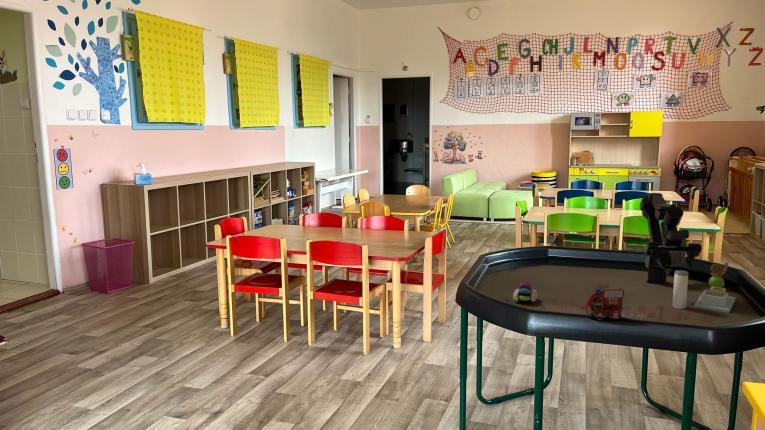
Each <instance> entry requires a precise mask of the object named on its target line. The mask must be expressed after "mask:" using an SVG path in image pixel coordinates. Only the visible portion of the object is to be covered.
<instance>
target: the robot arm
mask: <svg viewBox="0 0 765 430" xmlns="http://www.w3.org/2000/svg"><path fill="white" fill-rule="evenodd" d="M665 199H666V198H664V196H663V193H661V192H651V193H648V195H647V196H645V197H643V198H641V200H640V203H639V210H640V211H641V215H642V216H643V217H644V219H646V222H647V229H648V235H649V240H650V242H649V241H648V242H647V243H646V246H645V249H644V255H646V259H645V260H644V262H645V267H646V269H648V270H647V280H646V283H649V284H655V285H656V284H657V285H665V283H667V282H668V276H667V269H670V266H671V261H672V258H671V255H670V254H669V252H686V257H685V260H686V264H687V269H688V270H691V268H692V264H693V259H696V258H697V257H699V256H700V254H701V252H702V251H703V250H702V249H703V245H702V244H701V243H699V242H689V243H688V244H687V246H686V247H681V245H680V244H682V243H683V241H682V240H684V239H686V240H687V239H689V238H690V232H689V229H686V228H685V229H682V230H678V226H679V225H680V223H681V222H682V218H683V215H684V210H683V209H682V208H681V207H679V206H677V204H676V203H674V204H673V203H671V204H669V203H668V202H667V201H666V200H665ZM660 221H661V222H660ZM661 232H662V235H661ZM662 238H663V239H662ZM663 244H664V245H663ZM671 267H672V266H671Z"/></svg>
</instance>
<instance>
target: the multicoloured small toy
mask: <svg viewBox="0 0 765 430" xmlns="http://www.w3.org/2000/svg"><path fill="white" fill-rule="evenodd" d="M512 295H513V297H512V299H514V300H518V298H519V300H518V301H520V300H521V301H530V302H531V301H536V302H537V300H538V299H537V298H538V292H537V290H535V289H533V287H532V284H531V283H530V282H528V281H523V282H521V283H520V285H519V286H518V288H517V289H515V290H514V293H513V294H512ZM514 300H513V301H514Z"/></svg>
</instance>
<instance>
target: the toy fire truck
mask: <svg viewBox="0 0 765 430" xmlns="http://www.w3.org/2000/svg"><path fill="white" fill-rule="evenodd" d="M624 297H625V291H624V289H622V288H603V289H602V290H601V289H600V288H596V289H595V290H594V292H593V293H591V294H590V296H589V298H588V300H587V301H586V303H585V313H586V314H587V315H589V314H593V315H599V316H606V315H607V314H608V317H609V316H611V317H620V318H621V317H622V312H623V298H624ZM593 315H592V316H593Z"/></svg>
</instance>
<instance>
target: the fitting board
mask: <svg viewBox="0 0 765 430" xmlns="http://www.w3.org/2000/svg"><path fill="white" fill-rule="evenodd" d="M736 299H737V298H736V296H730V295H729V292H727V290H726V287H722V288H720V287H710V288H709V289H704V290H703V291H702V293H701V294H700V295H699V297H698V298H697V300H696V301H695V303H694V304H693V308H696V309H701V310H707V311H708V310H709V311H715V312H721V313H727V314H729V313H730V312H731V310H732V308H733V306H734V304H735V302H736Z"/></svg>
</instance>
